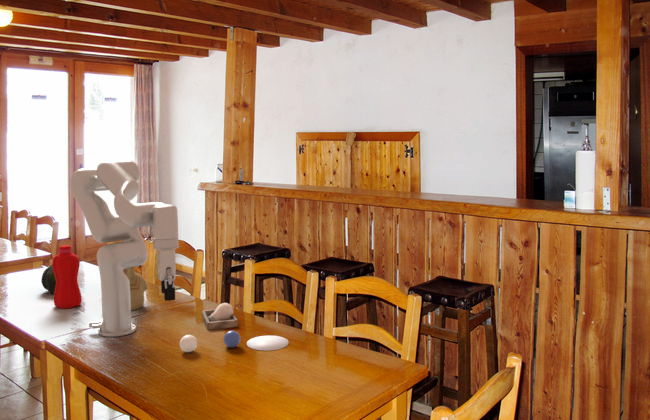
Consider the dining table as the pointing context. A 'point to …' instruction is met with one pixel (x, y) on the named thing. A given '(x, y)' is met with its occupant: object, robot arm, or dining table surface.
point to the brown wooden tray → (218, 324)
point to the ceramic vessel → (136, 288)
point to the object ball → (231, 339)
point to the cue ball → (188, 343)
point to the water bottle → (66, 278)
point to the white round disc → (267, 343)
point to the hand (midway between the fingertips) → (168, 296)
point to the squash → (49, 280)
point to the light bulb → (221, 313)
